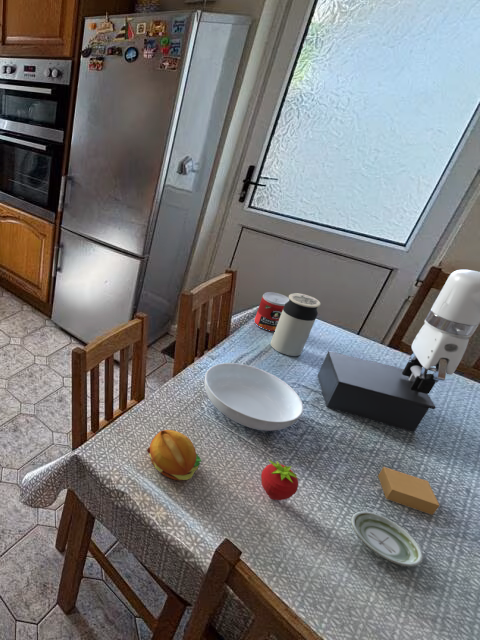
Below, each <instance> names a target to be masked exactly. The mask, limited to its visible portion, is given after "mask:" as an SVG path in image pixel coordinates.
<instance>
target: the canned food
mask: <svg viewBox="0 0 480 640" xmlns="http://www.w3.org/2000/svg"><path fill="white" fill-rule="evenodd" d="M288 301H289V296H286V295H285V294H282V293H278V292H273V291H269V292H268V291H267V292H264V293H263V295H262V297H261V300H260V303H259V306H258V308H257V311H256V315H255V317H254V324H255V323H256V324H257V325H258V326H260V327H262V328H264V329H267V330H270V331H275V329H276V327H277V324H278V321H279V319H280V316H281V313H282V311H283V308H284V305H285V303H287V302H288ZM256 324H255V325H256ZM257 325H256V326H257ZM258 326H257V327H258ZM270 331H269V332H270Z"/></svg>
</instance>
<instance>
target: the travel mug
mask: <svg viewBox="0 0 480 640" xmlns="http://www.w3.org/2000/svg"><path fill="white" fill-rule="evenodd" d="M288 298H289V301H288V302H287V303H285V305H284V308H283V311H282V313H281V316H280V319H279V321H278V324H277V327H276V329H275V332H273V335H272V337H271V340H270V344H269V345H270V346H271V347H272V349H273V350H275V351H277V352H278V353H281V354H283V355H287V356H290V357H297V356H300V355H302V353H303V350H304V348H305V346H306V344H307V341H308V339H309V336H310V334H311V331H312V329H313V327H314V324H315V323H316V320H317V317H318V314H319V312H318V308H319V307H321V302H320V301H319V300H318V299H317V298H315V297H314V296H311V295H308V294H304V293H297V292H295V293H290V294H289V295H288Z"/></svg>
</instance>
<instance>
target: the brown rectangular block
mask: <svg viewBox="0 0 480 640" xmlns="http://www.w3.org/2000/svg"><path fill="white" fill-rule="evenodd" d="M377 478H378V481H379V483H380V486H381V488H382V491H383V494H384V497H385V499H386V500H387V501H388V500H389V501H391V502H393V503H397V504H399V505H401V506H405V507H408V508H411V509H413V510H417V511H419V512H423V513H425V514H428V515H431V516H433V515H434V514H435V513H436V512H437V510H438V509H439V507H440V503H439V501H438V499H437V497H436V495H435V492H434V490H433V488H432V486H431V485H430V482H429V481H428V480H426V479H422V478H419V477H417V476H413V475H411V474H408V473H405V472H401V471H399V470H395V469H392V468H389V467H386V466H383V467H382V468H381V470H380V472H379V473H378V474H377Z"/></svg>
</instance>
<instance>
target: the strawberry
mask: <svg viewBox="0 0 480 640" xmlns="http://www.w3.org/2000/svg"><path fill="white" fill-rule="evenodd" d="M268 461H269V464H268V465H266V466H265V467H264V468H263V469H262V471H261V475H260V477H261V478H260V481H261V486H262V488H263V490H264V492H265V493H266V496H268V497H269V498H270V500H273V501H284V500H288V499H290V498H292V497H293V496H294V495H295V494H296V493H297V492H298V489H299V477H298V476H297V474H296V473H295V472H294V471H293V470H292V469H291V468H292V467H293V466H292V465H286V464H285V462H284V461H283V460H282V461H281V462H282V463H279V461H278V460H276V461H275V462H274V461H272V460H271V459H268Z"/></svg>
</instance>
